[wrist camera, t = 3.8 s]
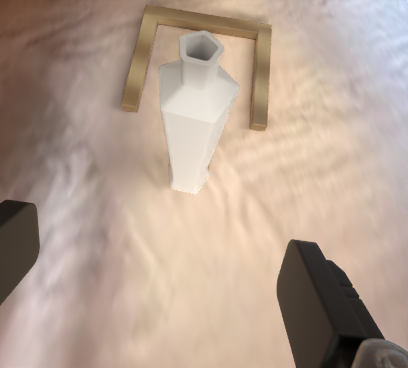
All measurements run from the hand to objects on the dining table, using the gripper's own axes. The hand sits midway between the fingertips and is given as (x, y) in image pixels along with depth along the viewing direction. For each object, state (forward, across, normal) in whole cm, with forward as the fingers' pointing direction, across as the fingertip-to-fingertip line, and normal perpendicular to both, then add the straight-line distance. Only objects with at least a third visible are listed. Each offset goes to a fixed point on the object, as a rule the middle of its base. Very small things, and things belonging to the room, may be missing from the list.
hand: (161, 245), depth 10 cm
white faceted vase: (+18, 0, +5) cm, 19 cm away
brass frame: (+26, 0, -4) cm, 27 cm away
